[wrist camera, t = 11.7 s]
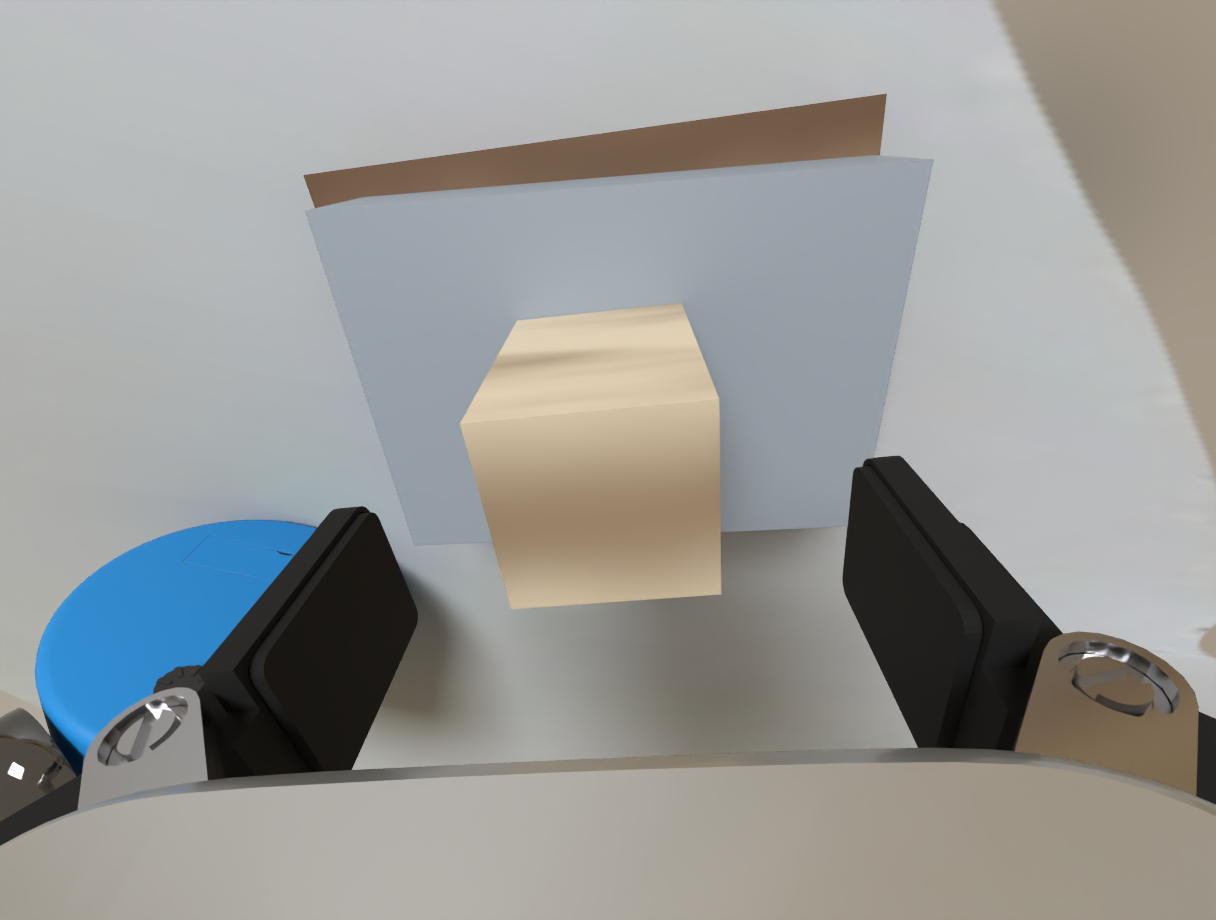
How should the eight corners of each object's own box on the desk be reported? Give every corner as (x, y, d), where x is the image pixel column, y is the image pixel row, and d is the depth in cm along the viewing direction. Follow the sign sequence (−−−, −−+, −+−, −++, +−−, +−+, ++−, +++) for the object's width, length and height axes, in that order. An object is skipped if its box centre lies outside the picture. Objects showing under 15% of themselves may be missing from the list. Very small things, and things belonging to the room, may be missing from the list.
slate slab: (825, 469, 24) (859, 526, 20) (443, 488, 25) (414, 545, 21) (872, 155, 18) (933, 159, 14) (363, 197, 19) (305, 210, 15)
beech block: (687, 448, 19) (721, 594, 13) (544, 461, 19) (511, 609, 13) (681, 302, 16) (719, 399, 10) (517, 320, 17) (459, 423, 11)
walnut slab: (814, 432, 27) (842, 475, 24) (447, 466, 29) (423, 511, 25) (841, 101, 20) (886, 93, 17) (353, 169, 22) (303, 175, 18)
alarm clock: (194, 566, 32) (-94, 856, 19) (190, 484, 29) (-155, 762, 16) (416, 622, 34) (291, 919, 21) (434, 551, 31) (300, 846, 18)
